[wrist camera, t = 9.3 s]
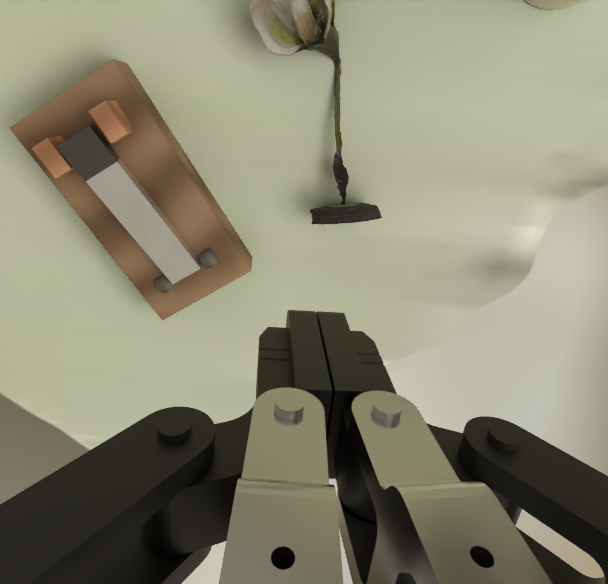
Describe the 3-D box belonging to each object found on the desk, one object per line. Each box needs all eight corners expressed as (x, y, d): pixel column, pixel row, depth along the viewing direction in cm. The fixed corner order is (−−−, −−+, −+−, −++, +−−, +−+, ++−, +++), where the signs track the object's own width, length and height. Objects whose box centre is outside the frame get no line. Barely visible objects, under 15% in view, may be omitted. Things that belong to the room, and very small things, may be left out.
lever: (201, 262, 41) (200, 268, 40) (174, 278, 41) (172, 284, 40) (93, 123, 34) (89, 126, 32) (61, 143, 34) (56, 147, 33)
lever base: (252, 256, 45) (250, 281, 39) (170, 302, 46) (156, 333, 40) (127, 63, 37) (100, 56, 31) (33, 125, 39) (-10, 129, 33)
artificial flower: (295, 223, 46) (268, 241, 36) (273, -32, 39) (233, -88, 30) (383, 218, 44) (378, 237, 34) (375, -51, 37) (367, -117, 28)
